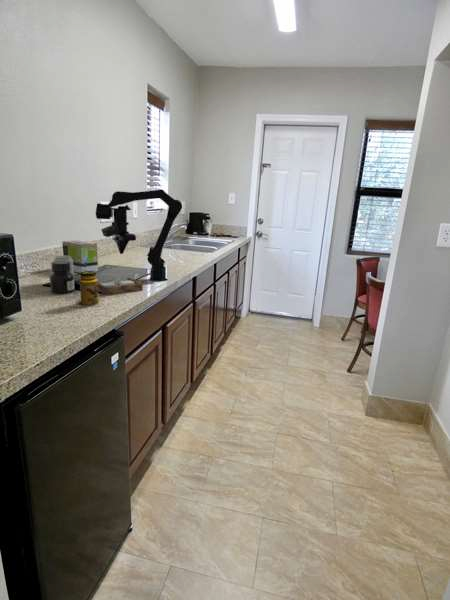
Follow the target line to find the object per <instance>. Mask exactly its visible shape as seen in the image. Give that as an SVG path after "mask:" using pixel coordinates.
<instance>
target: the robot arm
mask: <svg viewBox="0 0 450 600" xmlns="http://www.w3.org/2000/svg"><path fill="white" fill-rule="evenodd" d="M154 199H160V200H161V201H162V202H163V203H164V204H166V205H167V206H168V208H167V209H168V210H167V214H166V219H165V221H164V223H163V226H162V229H161V231H160V233H159V234H158V235H159V236H158V238H157V240H156V243H155V245H154V246H153V245H151V246H150V247H149V250H148V253H147V254H146V256H147V259H146V260H147V262H148V263H149V264H150V265H151V266H150V272H149V273H150V277H149V279H150V280H152V281H154V282H160V281H168V278H166V277H167V276H166V275H167V270H166V269H167V268H166V266H165V263H166V261H165V260H164V259H163V258H162V254H163V250H164V245H165V243H166V241H167V238H168V236H169V234H170V232H171V228H172V226H173V224H174V222H175V220H176V218H177V217H178V216H179V214H180V212H181V211H182V209H183V204H182V202H181V201H180V200H178V199H174V197H172V196H170V195H169V194H168V193H167V192H166V191H165V190H164V189H162V188H160V189H156V190H155V189H154V190H146V191H136V192H131V191H118V190H117V191H114V192H113V194H112V196H111V200H110V201H109V202H108V204H106V203H96V209H95V218H96V219H97V220H111V218H113V221H112V222H111V225H109V226H106V227H104V228H101V233H102V236H103V237H106V238H110V237H113V238H112V240H113V241H114V242H115V243H116V245H117V248H118V252H119V254H120V255H121V254H122V255H123V254H124V252H125V250H126V248H127V245H128V244H129V243H130V241H132V242H133V241H137V236H136V234H135V233H131V232H130V231H128V226H129V223H130V222H128V220H127V219H128V215H127V214H128V213H127V212H128V211H131V210H132V208H131V207H130V206H129V205H128V204H129V203H132V202H135V201H145V200H154ZM125 204H126V205H125ZM116 207H117V208H116Z"/></svg>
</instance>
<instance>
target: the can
mask: <svg viewBox="0 0 450 600" xmlns="http://www.w3.org/2000/svg"><path fill="white" fill-rule="evenodd" d="M54 261H69V262H70V268H71V269H70V270H71V271H70V272H71V274H73V275H74V276H75V272H74V269H73V260H72V259H71V256H66V255H63V254H62V255H56V256H55V259H53V262H54Z"/></svg>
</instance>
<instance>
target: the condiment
mask: <svg viewBox="0 0 450 600" xmlns="http://www.w3.org/2000/svg"><path fill="white" fill-rule="evenodd" d="M79 275H80V277H79V278H80V279H79V287H80V289H79V290H80V291H79V293H80V299H76V301H75V304H74V305H73V307H74V308H75V307H88V308H89V307H90V308H91V307H99V305H100V304H101V299H100V300H99V291H98V283H99V282H98V281H99V280H98V278H97V271H96V272H94V271H83V272H81V273H79Z"/></svg>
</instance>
